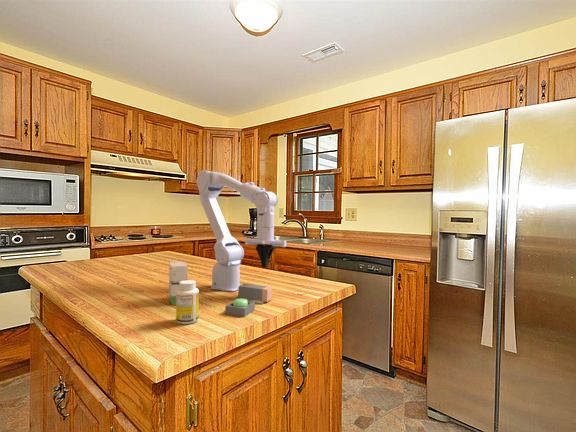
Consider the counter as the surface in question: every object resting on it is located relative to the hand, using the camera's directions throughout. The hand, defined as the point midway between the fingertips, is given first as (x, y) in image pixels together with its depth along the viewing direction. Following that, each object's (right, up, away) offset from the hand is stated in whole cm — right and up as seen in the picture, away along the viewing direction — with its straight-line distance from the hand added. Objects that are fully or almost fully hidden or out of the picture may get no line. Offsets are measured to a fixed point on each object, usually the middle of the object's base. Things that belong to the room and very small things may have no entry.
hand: (265, 267), depth 104 cm
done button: (-6, -9, -17) cm, 21 cm away
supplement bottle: (-18, -10, -25) cm, 32 cm away
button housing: (-6, -10, -17) cm, 21 cm away
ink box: (-27, -9, -8) cm, 29 cm away
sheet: (-3, -10, -6) cm, 11 cm away
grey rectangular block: (-3, -9, -6) cm, 11 cm away
